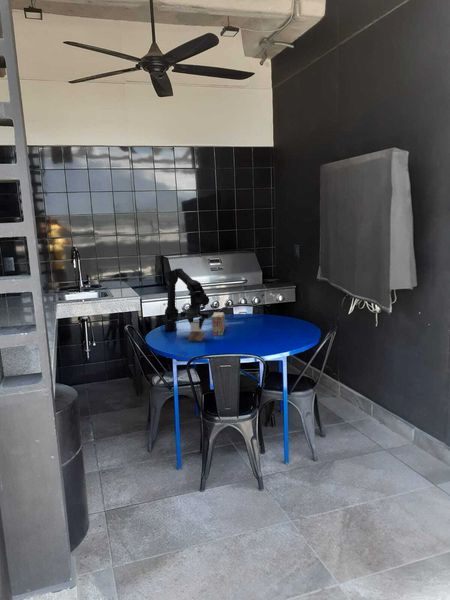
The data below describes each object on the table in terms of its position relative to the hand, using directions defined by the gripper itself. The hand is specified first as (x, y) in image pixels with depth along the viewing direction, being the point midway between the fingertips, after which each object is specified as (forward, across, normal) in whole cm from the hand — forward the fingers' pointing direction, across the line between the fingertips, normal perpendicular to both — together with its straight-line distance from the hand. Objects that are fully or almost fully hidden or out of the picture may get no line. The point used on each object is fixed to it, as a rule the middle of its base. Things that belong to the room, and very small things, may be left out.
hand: (196, 328), depth 274 cm
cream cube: (+1, 0, 0) cm, 1 cm away
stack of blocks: (+7, +5, +21) cm, 23 cm away
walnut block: (+7, 0, 0) cm, 7 cm away
